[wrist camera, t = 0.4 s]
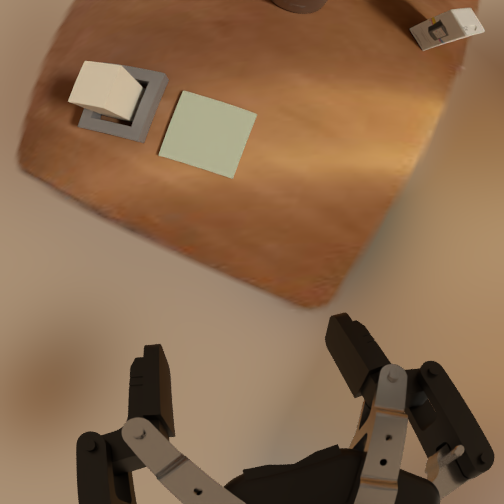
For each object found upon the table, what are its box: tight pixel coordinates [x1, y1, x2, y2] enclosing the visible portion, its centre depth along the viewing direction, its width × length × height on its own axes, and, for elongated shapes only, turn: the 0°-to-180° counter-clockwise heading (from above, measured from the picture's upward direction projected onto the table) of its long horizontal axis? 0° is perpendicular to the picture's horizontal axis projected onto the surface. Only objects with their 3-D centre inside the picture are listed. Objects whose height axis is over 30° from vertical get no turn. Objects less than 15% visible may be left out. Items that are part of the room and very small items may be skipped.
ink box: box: [410, 8, 485, 51], centre depth 25 cm, size 9×5×12 cm, turn 124°
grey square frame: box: [78, 63, 169, 143], centre depth 28 cm, size 9×9×3 cm
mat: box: [159, 91, 257, 179], centre depth 33 cm, size 9×10×1 cm
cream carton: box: [68, 61, 145, 122], centre depth 25 cm, size 4×4×11 cm
